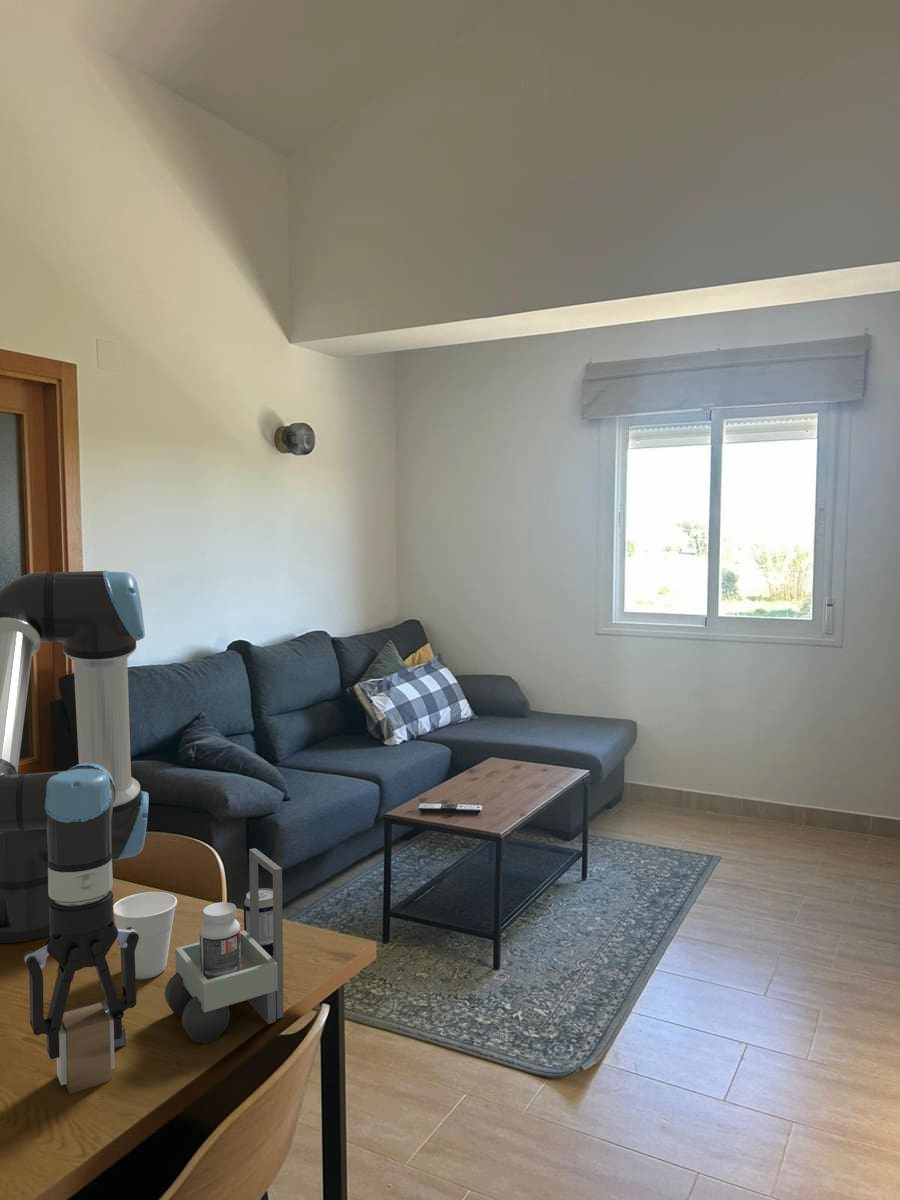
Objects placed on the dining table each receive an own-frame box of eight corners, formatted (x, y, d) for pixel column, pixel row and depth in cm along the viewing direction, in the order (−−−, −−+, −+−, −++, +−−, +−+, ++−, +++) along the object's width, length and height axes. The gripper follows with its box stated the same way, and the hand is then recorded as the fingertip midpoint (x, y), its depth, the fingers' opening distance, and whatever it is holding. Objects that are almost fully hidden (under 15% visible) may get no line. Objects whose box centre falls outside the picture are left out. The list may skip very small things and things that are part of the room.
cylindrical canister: (287, 965, 142) (286, 893, 141) (259, 978, 138) (258, 904, 137) (265, 954, 146) (264, 884, 145) (237, 967, 141) (236, 895, 140)
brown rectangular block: (61, 1073, 113) (59, 1014, 113) (102, 1061, 116) (100, 1002, 115) (69, 1094, 109) (67, 1032, 108) (111, 1080, 112) (109, 1019, 111)
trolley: (162, 1011, 128) (159, 864, 127) (254, 984, 136) (252, 845, 134) (190, 1053, 118) (187, 893, 116) (287, 1021, 125) (285, 871, 124)
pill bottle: (249, 975, 127) (248, 908, 126) (214, 990, 122) (213, 920, 122) (226, 962, 130) (225, 897, 130) (192, 976, 126) (191, 909, 126)
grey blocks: (65, 1027, 124) (64, 1011, 123) (109, 1015, 127) (109, 999, 127) (78, 1059, 116) (78, 1042, 116) (125, 1045, 119) (125, 1028, 119)
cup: (158, 989, 134) (156, 920, 133) (99, 983, 136) (98, 914, 135) (189, 959, 144) (188, 894, 143) (135, 953, 146) (133, 889, 145)
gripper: (6, 922, 103) (12, 1112, 104) (161, 888, 113) (165, 1062, 114) (-3, 900, 109) (3, 1080, 110) (145, 870, 119) (149, 1035, 120)
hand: (85, 1071), depth 112 cm, fingers closed on brown rectangular block, 5 cm apart
